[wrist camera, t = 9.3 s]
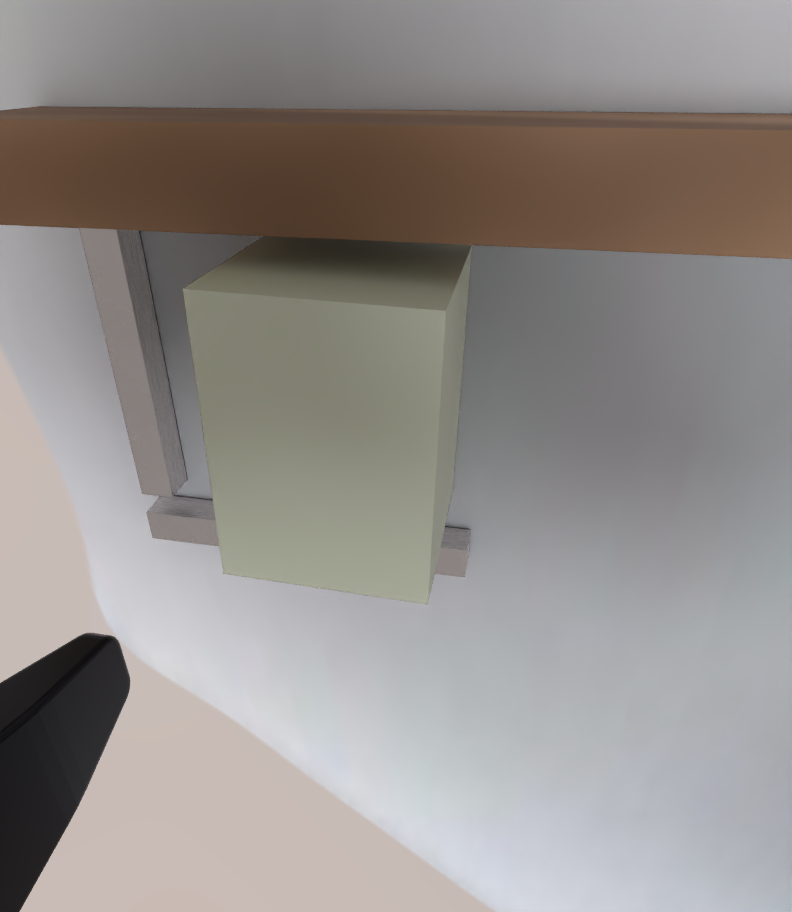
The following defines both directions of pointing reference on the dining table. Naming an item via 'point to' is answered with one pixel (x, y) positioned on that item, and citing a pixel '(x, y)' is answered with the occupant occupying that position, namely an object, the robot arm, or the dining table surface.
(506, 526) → the dining table surface
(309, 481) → the pale green block
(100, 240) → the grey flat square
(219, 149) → the long brown board
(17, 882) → the robot arm
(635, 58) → the dining table surface
